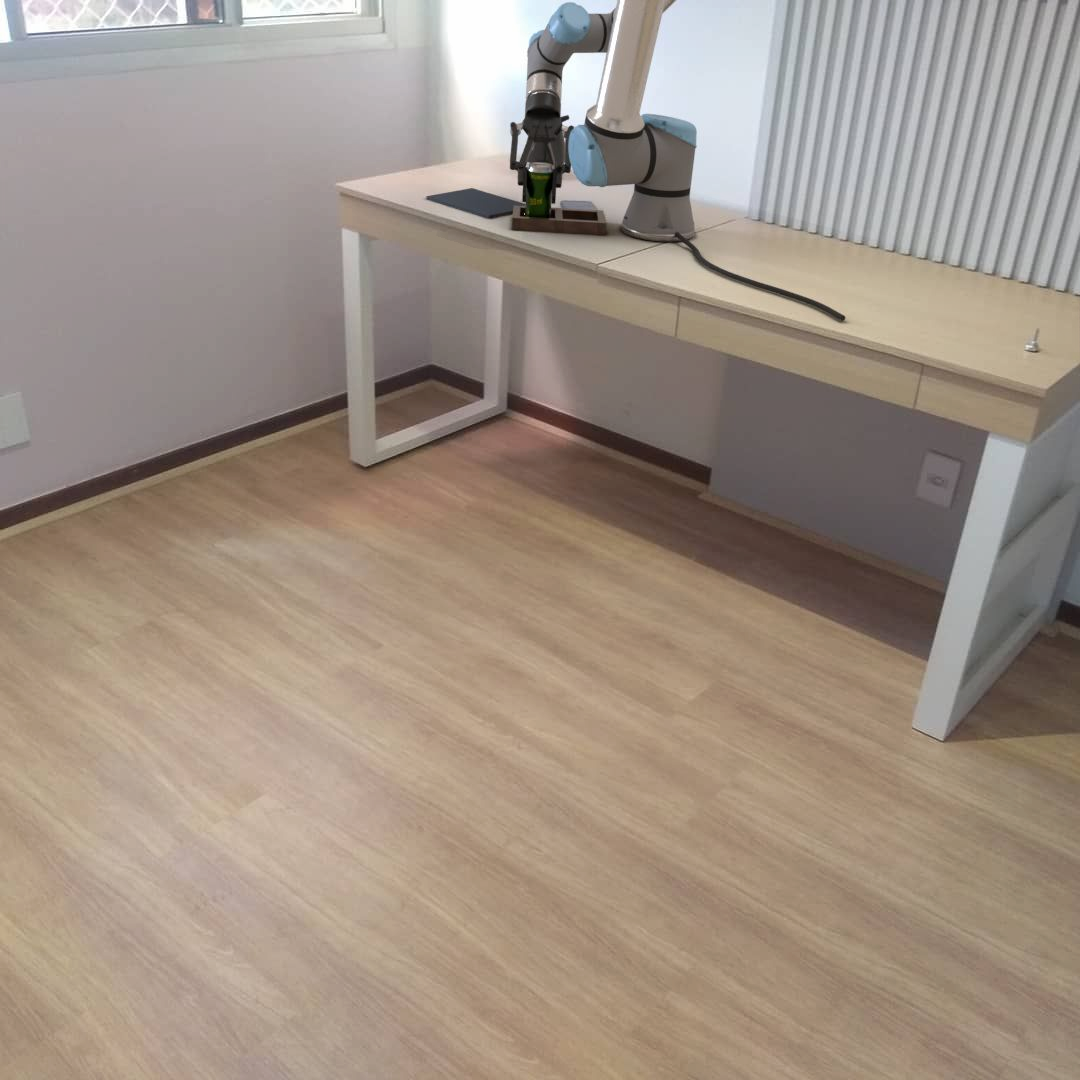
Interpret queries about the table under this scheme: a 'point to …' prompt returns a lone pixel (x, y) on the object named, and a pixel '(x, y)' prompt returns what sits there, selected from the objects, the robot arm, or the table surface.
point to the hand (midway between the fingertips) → (538, 199)
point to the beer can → (539, 190)
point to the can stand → (561, 221)
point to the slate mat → (477, 202)
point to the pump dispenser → (543, 152)
